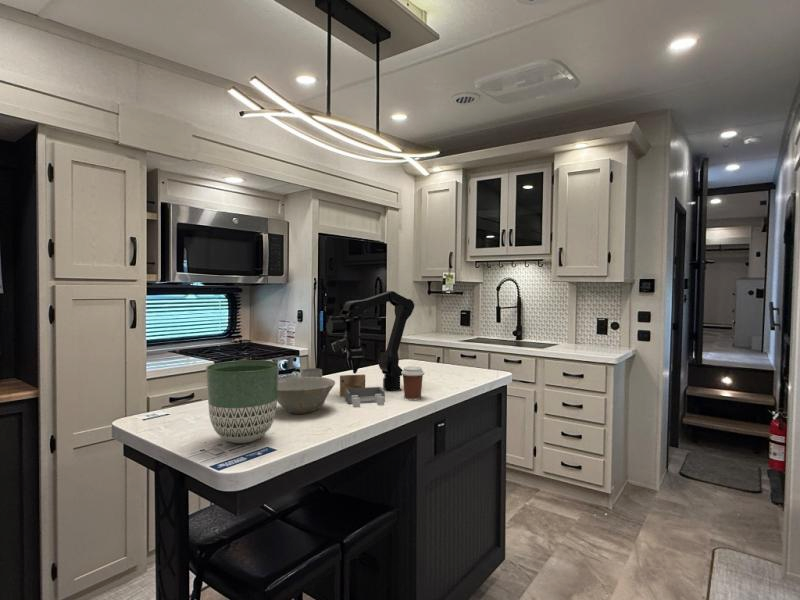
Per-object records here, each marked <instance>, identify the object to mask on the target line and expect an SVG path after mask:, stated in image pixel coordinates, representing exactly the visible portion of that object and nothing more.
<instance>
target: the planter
mask: <svg viewBox="0 0 800 600" xmlns="http://www.w3.org/2000/svg"><path fill="white" fill-rule="evenodd" d="M279 368H280V365H279V363H278V362H275V361H271V360H263V359H262V360H260V359H257V360H256V359H244V360H231V361H223V362H217V363H212V364H209V365H207V366H206V367H205V374H206V377H205V378H206V389H207V402H208V413H209V419H210V423H211V426H212V428H213V429H214V431H215V433H216V434H217V435H218V436H219V437H220V438H222V439H223V440H224V441H227V442H229V443H231V444H232V443H234V444H246V443H247V444H248V443H252V442H255V441H256V440H259V439H260V438H262V437H263V436H264V435H265V434H266V433H268V432H269V430H270V428H271V427H272V425H273V423H274V422H275V417H276V414H277V413H276V412H277V408H278V405H277V403H278V402H277V392H278V380H279V373H280V372H279V371H280V369H279Z"/></svg>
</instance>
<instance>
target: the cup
mask: <svg viewBox="0 0 800 600" xmlns="http://www.w3.org/2000/svg"><path fill="white" fill-rule="evenodd" d="M300 377H322V378H323V369H321V368H303V369H301V370H300Z"/></svg>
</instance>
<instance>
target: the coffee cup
mask: <svg viewBox="0 0 800 600" xmlns="http://www.w3.org/2000/svg"><path fill="white" fill-rule="evenodd" d="M402 370H403V371H402V372H401V374H402V380H403V393H404V399H405V398H406V399H405V400H407V399H412V400H411V401H414V400H413V399H419V400H421V399H422V389H423V388H422V387H423V377H424V375H425V371H424V370H423V368H422V367H421V366H416V365H415V366H414V365H413V366H411V365H410V366H404V368H403V369H402ZM420 398H421V399H420Z"/></svg>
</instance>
